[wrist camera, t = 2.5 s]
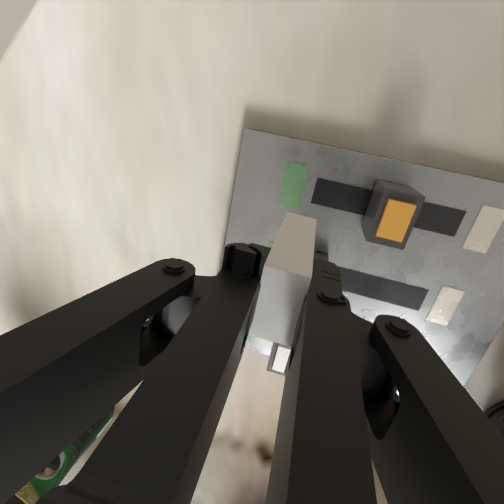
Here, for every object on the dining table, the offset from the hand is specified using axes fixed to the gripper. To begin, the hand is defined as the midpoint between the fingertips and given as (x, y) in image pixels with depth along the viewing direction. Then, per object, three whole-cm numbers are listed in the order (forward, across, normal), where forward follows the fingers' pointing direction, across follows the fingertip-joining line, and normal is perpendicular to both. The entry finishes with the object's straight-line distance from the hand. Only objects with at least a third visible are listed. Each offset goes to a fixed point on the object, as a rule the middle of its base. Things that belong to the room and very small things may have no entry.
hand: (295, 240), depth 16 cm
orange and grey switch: (+15, -7, 0) cm, 16 cm away
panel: (+16, -7, +8) cm, 19 cm away
